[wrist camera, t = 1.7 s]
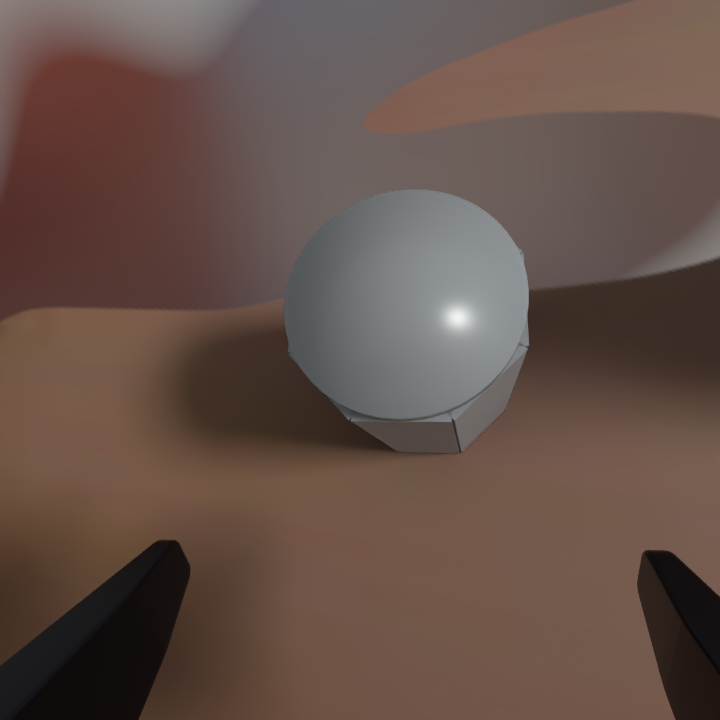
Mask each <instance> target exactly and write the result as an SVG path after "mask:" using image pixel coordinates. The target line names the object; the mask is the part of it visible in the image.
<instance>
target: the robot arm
mask: <svg viewBox="0 0 720 720" xmlns="http://www.w3.org/2000/svg"><path fill="white" fill-rule="evenodd" d="M189 577H190V565H189V562H188V560H187V558H186V556H185V554H184V552H183V550H182V548H181V546H180V544H179V542H177V541H176V540H159V541H156V542H155V543H153V544H152V545H151V546H150V547H148V548H147V549H146V550H145V551H143V552H142V553H141V554H140V555H138V556H137V557H136V558H135V559H133V560H132V561H131V562H130V563H128V564H127V565H126V566H125V567H123V568H122V569H121V570H120V571H118V572H117V573H116V574H115V575H113V576H112V577H111V578H110V579H108V580H107V581H106V582H105V583H103V584H102V585H101V586H100V587H98V588H97V589H96V590H95V591H93V592H92V593H91V594H90V595H88V596H87V597H86V598H85V599H83V600H82V601H81V602H80V603H78V604H77V605H76V606H74V607H73V608H72V609H71V610H69V611H68V612H67V613H66V614H64V615H63V616H62V617H61V618H59V619H58V620H57V621H56V622H54V623H53V624H52V625H51V626H49V627H48V628H47V629H46V630H44V631H43V632H42V633H41V634H39V635H38V636H37V637H36V638H34V639H33V640H32V641H31V642H29V643H28V644H27V645H26V646H24V647H23V648H22V649H21V650H19V651H18V652H17V653H16V654H14V655H13V656H12V657H11V658H9V659H8V660H7V661H6V662H4V663H3V664H2V665H1V666H0V720H138V719H139V717H140V715H141V712H142V710H143V707H144V705H145V702H146V700H147V698H148V695H149V693H150V690H151V688H152V685H153V683H154V681H155V678H156V676H157V673H158V671H159V668H160V666H161V664H162V661H163V658H164V656H165V653H166V651H167V648H168V645H169V642H170V639H171V636H172V632H173V629H174V626H175V623H176V620H177V616H178V613H179V610H180V607H181V603H182V600H183V597H184V594H185V590H186V587H187V584H188V581H189ZM637 586H638V593H639V597H640V601H641V605H642V609H643V612H644V616H645V620H646V623H647V627H648V631H649V635H650V638H651V642H652V646H653V650H654V653H655V657H656V661H657V664H658V668H659V672H660V675H661V679H662V682H663V686H664V689H665V692H666V695H667V698H668V701H669V703H670V706H671V709H672V712H673V714H674V717H675V719H676V720H720V597H719V596H718V595H717V594H716V593H715V592H714V591H713V590H712V589H711V588H710V587H709V586H708V585H707V584H706V583H704V582H703V581H702V580H701V579H700V578H699V577H698V576H697V575H696V574H695V573H694V572H693V571H692V570H691V569H690V568H688V567H687V566H686V565H685V564H684V563H683V562H682V561H681V560H680V559H679V558H678V557H677V556H676V555H674V554H673V553H671V552H669V551H664V550H646V551H644V552H643V554H642V557H641V563H640V569H639V574H638V580H637Z"/></svg>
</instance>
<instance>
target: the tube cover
mask: <svg viewBox="0 0 720 720" xmlns="http://www.w3.org/2000/svg"><path fill="white" fill-rule="evenodd" d="M528 306H529V287H528V281H527V273H526V270H525V266H524V254H523V253H522V250H521V249H519V248H518V247H517V246H516V245H515V243H514V242H513V240H512V239H511V237H510V236H509V234H508V233H507V232H506V230H505V229H504V228H503V227H502V226H501V225H500V224H499V223H498V222H497V221H496V220H495V219H494V218H493V217H492V216H490V215H489V214H488V213H487V212H485V211H484V210H482V209H481V208H479V207H478V206H476V205H475V204H472V203H470V202H468V201H466V200H464V199H462V198H459V197H456V196H453V195H450V194H447V193H442V192H437V191H432V190H418V189H414V190H399V191H392V192H386V193H383V194H379V195H375V196H372V197H370V198H367V199H365V200H362V201H360V202H357V203H355V204H353V205H352V206H350V207H348V208H346V209H345V210H343V211H342V212H340V213H339V214H337V215H335V216H334V217H333V218H332V219H330V220H329V221H328V222H327V223H326V224H324V225H323V226H322V227H321V228H320V229H319V230H318V231H317V232H316V234H315V235H314V236H313V237H312V238H311V239H310V241H309V242H308V243H307V245H306V246H305V247H304V249H303V250H302V252H301V254H300V256H299V257H298V259H297V261H296V263H295V265H294V267H293V270H292V272H291V275H290V278H289V281H288V285H287V288H286V294H285V301H284V321H285V330H286V334H287V338H288V342H289V343H288V353H289V356H290V357H291V358H292V359H293V360H294V361H295V362H296V363H297V365H298V366H299V367H300V368H301V369H302V371H303V372H304V373H305V375H306V376H307V377H308V378H309V380H310V381H311V382H312V383H313V384H314V385H315V386H316V387H317V388H318V389H319V390H320V391H322V392H323V393H324V394H325V395H326V396H327V397H328V398H329V399H330V400H331V402H332V403H333V404H334V405H335V406H336V407H337V408H338V409H339V410H340V411H341V412H342V414H343V415H344V416H345V417H346V418H347V419H348V420H349V421H351V422H352V423H354V424H355V425H357V426H359V427H360V428H362V429H363V430H365V431H366V432H368V433H369V434H371V435H373V436H374V437H376V438H377V439H379V440H380V441H382V442H383V443H385V444H386V445H388V446H390V447H391V448H393V449H394V450H396V451H398V452H417V453H460V452H461V453H462V452H463V451H464V450H465V449H466V448H467V447H468V446H469V445H470V444H471V443H472V442H473V441H474V440H475V439H476V438H477V437H478V436H479V435H480V434H481V433H482V432H483V431H484V430H485V429H486V428H487V427H488V426H489V425H490V424H491V423H492V422H493V421H494V420H495V419H496V418H497V417H498V416H499V415H501V414H502V413H503V412H504V411H505V409H506V407H507V404H508V401H509V399H510V396H511V393H512V391H513V388H514V385H515V382H516V380H517V377H518V374H519V372H520V369H521V366H522V364H523V361H524V358H525V356H526V353H527V350H528V348H529V335H528V317H527V312H528Z"/></svg>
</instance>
